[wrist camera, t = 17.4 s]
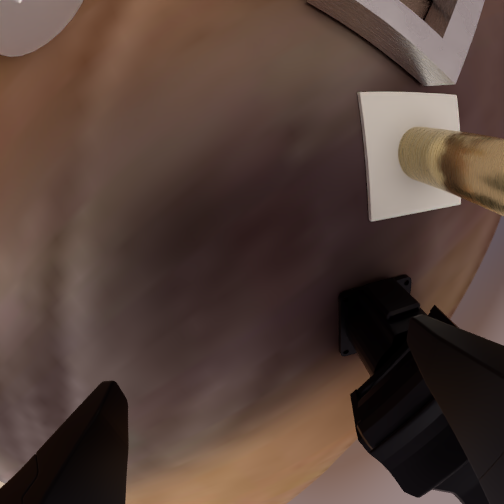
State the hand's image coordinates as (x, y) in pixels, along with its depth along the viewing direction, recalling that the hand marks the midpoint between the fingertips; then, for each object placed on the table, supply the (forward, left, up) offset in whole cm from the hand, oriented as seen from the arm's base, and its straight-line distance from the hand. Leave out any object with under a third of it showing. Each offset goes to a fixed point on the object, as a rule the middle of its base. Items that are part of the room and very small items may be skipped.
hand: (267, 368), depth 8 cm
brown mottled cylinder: (+3, -14, -13) cm, 19 cm away
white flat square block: (+3, -14, -13) cm, 19 cm away
